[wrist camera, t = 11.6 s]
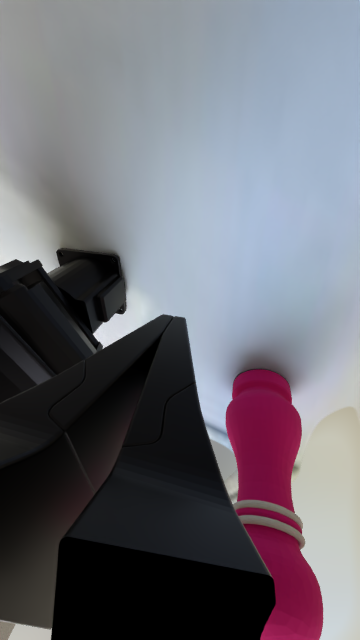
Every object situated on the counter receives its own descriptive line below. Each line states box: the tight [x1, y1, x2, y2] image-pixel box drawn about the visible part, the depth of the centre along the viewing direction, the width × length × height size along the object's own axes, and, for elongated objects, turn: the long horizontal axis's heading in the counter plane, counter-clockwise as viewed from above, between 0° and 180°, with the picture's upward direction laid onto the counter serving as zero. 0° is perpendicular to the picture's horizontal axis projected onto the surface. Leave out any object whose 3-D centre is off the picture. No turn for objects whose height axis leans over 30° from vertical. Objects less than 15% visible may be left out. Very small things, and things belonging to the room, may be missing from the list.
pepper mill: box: [226, 369, 323, 640], centre depth 19 cm, size 7×7×20 cm
